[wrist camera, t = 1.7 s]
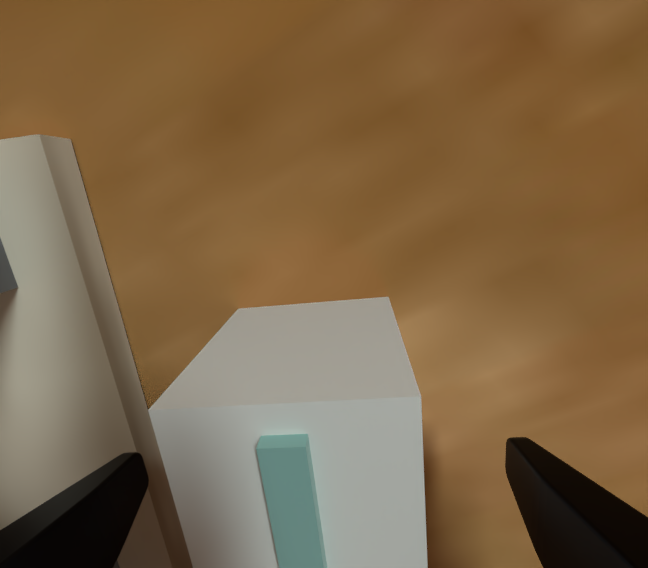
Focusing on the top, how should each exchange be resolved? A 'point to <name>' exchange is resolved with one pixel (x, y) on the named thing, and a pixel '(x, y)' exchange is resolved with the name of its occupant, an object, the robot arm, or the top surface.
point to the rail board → (68, 354)
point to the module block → (298, 441)
